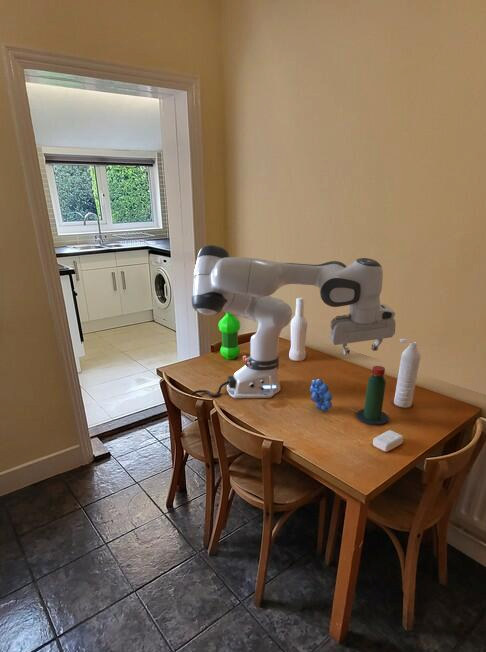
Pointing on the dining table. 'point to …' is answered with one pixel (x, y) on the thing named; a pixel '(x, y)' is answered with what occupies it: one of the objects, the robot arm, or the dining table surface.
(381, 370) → the cap
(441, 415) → the dining table surface
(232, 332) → the plastic bottle
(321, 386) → the grapes
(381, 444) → the soap
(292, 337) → the bottle
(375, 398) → the green bottle
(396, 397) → the water bottle
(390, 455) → the dining table surface
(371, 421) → the coaster
